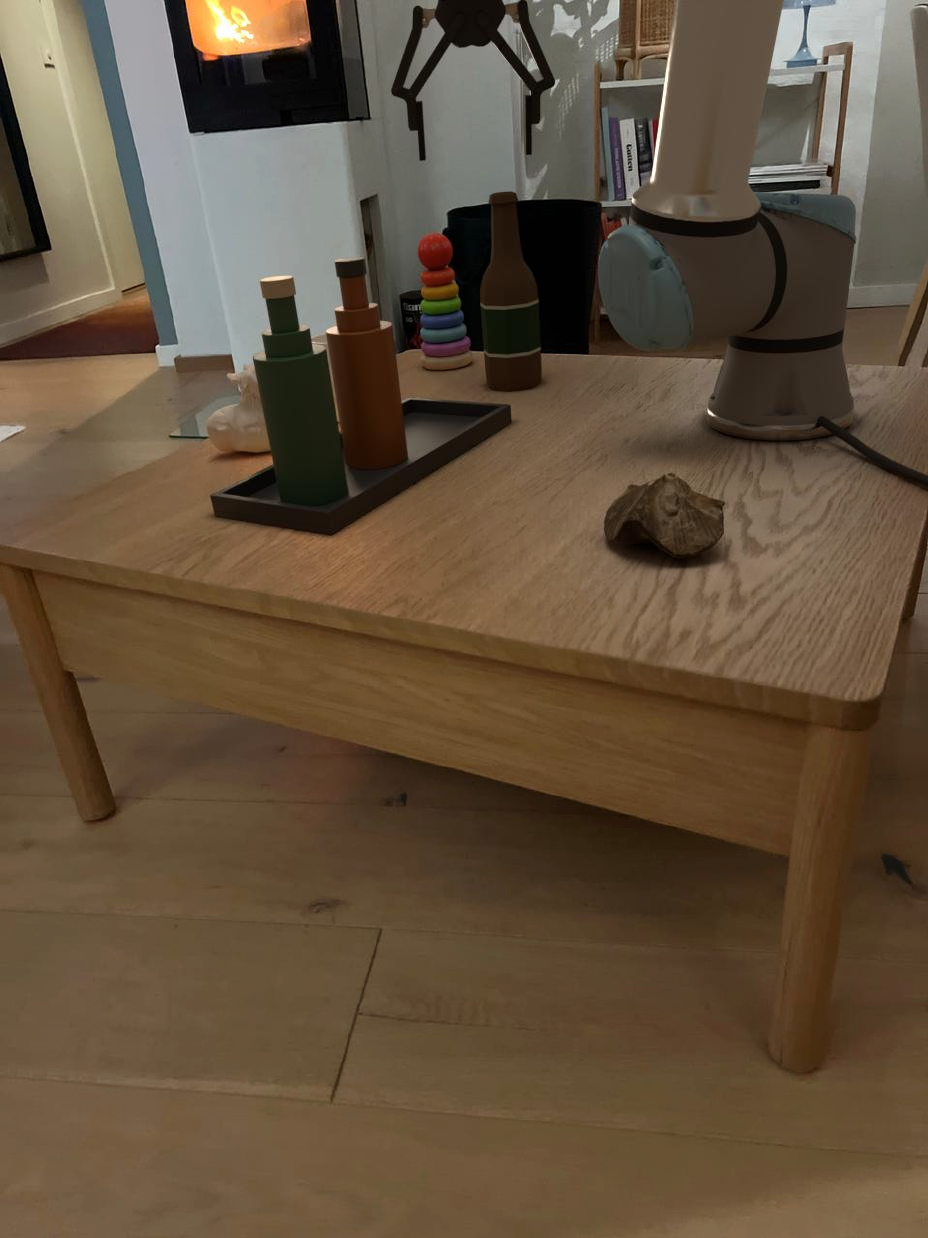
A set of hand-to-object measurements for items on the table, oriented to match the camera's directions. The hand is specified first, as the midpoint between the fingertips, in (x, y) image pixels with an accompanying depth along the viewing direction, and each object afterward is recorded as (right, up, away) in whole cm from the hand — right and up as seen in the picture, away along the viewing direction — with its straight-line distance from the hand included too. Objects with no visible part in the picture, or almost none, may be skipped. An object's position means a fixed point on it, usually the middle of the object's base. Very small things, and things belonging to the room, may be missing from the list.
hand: (475, 156), depth 117 cm
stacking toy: (-4, -21, +22) cm, 30 cm away
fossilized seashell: (+15, -54, -42) cm, 70 cm away
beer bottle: (+5, -27, +8) cm, 29 cm away
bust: (-25, -39, -9) cm, 48 cm away
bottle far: (-16, -47, -26) cm, 56 cm away
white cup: (-16, -33, +1) cm, 37 cm away
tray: (-11, -43, -18) cm, 47 cm away
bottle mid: (-11, -42, -18) cm, 47 cm away
